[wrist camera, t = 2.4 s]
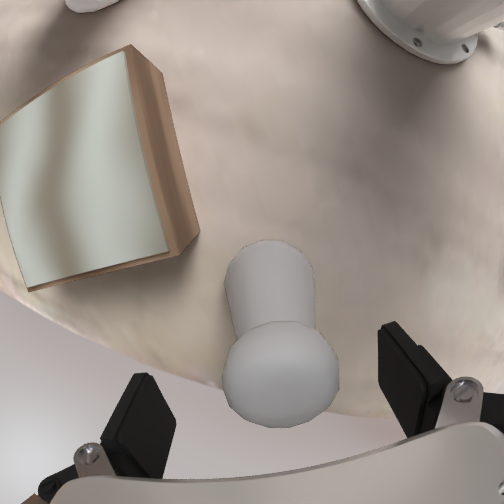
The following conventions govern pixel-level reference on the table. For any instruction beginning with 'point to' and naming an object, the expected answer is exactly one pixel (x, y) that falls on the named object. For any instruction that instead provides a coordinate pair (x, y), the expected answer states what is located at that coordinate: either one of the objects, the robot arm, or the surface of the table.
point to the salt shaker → (276, 339)
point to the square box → (95, 174)
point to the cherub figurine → (88, 5)
